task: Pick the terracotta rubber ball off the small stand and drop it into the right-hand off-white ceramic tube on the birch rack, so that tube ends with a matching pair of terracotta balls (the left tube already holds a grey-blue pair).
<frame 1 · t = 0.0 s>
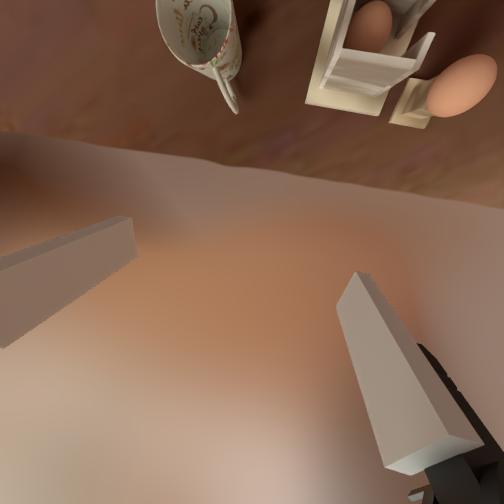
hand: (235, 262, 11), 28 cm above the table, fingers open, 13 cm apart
terracotta ball in tube: (359, 46, 24), point 1 cm above the table, touching rack
terracotta ball: (441, 94, 22), point 5 cm above the table, touching stand
stand: (415, 104, 26), on the table
mug: (229, 73, 29), on the table
rack: (376, 0, 23), on the table
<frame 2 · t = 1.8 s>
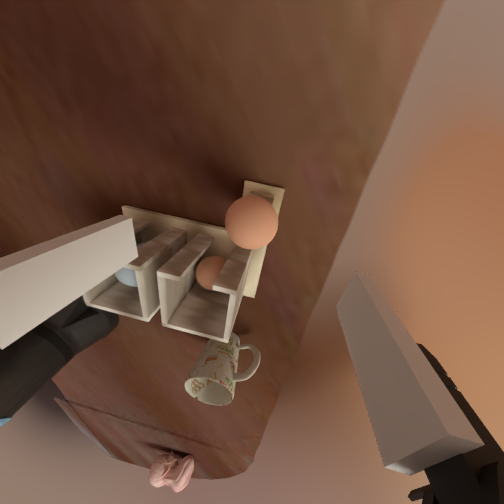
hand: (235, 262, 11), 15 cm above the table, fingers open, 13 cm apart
terracotta ball in tube: (219, 263, 29), point 1 cm above the table, touching rack
terracotta ball: (255, 215, 19), point 5 cm above the table, touching stand
grey ball upper: (144, 260, 25), point 5 cm above the table, tilted 28°, touching grey ball lower, rack
figurine: (178, 452, 83), on the table
stand: (261, 203, 24), on the table
mug: (234, 336, 38), on the table
rack: (194, 253, 29), on the table
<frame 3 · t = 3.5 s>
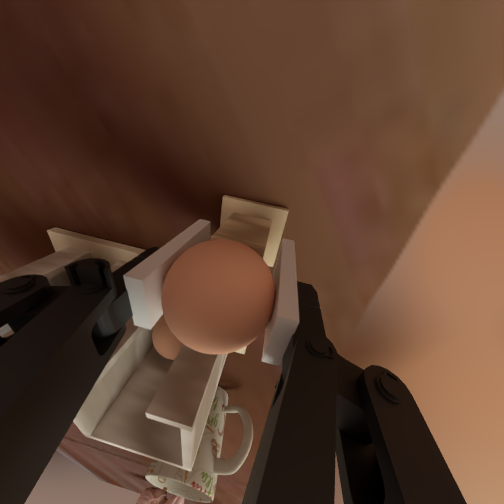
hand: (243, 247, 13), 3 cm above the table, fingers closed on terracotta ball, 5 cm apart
terracotta ball in tube: (192, 311, 20), point 1 cm above the table, touching rack
terracotta ball: (235, 264, 11), point 5 cm above the table, touching gripper, stand
figurine: (167, 484, 75), on the table
stand: (251, 231, 15), on the table
mug: (221, 389, 29), on the table
rack: (159, 293, 21), on the table
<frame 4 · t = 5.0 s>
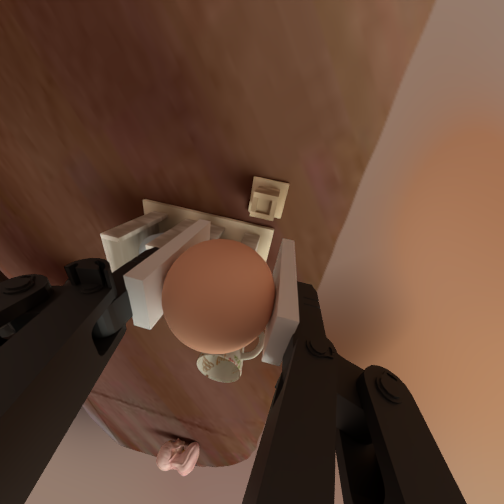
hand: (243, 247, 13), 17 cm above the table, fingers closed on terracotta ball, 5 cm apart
terracotta ball: (235, 264, 11), point 19 cm above the table, touching gripper
grey ball upper: (163, 248, 28), point 5 cm above the table, tilted 28°, touching grey ball lower, rack
figurine: (184, 439, 87), on the table
stand: (268, 197, 27), on the table
mug: (241, 322, 41), on the table
rack: (206, 242, 32), on the table
when the fingers open (12 cm above the table, at t = 6.7 s): terracotta ball drops 8 cm and tips over, resting on rack, terracotta ball in tube.
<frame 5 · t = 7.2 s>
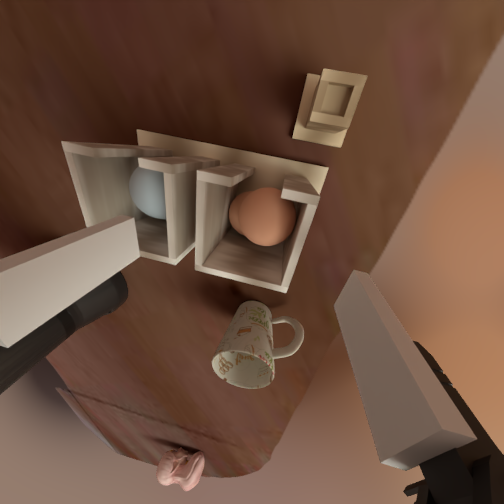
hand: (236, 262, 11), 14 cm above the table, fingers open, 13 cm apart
terracotta ball in tube: (257, 208, 23), point 1 cm above the table, tilted 10°, touching rack, terracotta ball
terracotta ball: (250, 218, 18), point 6 cm above the table, tilted 51°, touching rack, terracotta ball in tube
grey ball upper: (166, 193, 19), point 5 cm above the table, tilted 28°, touching grey ball lower, rack
figurine: (187, 448, 78), on the table
stand: (324, 113, 18), on the table
mug: (265, 310, 32), on the table
rack: (226, 196, 23), on the table
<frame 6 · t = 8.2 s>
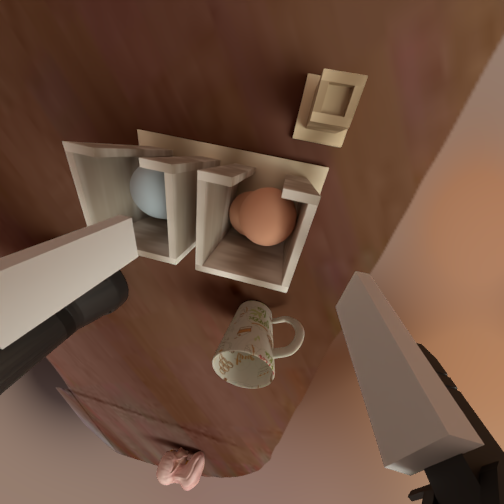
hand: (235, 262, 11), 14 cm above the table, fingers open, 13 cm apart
terracotta ball in tube: (258, 208, 23), point 1 cm above the table, tilted 10°, touching rack, terracotta ball
terracotta ball: (250, 218, 18), point 6 cm above the table, tilted 51°, touching rack, terracotta ball in tube
grey ball upper: (167, 193, 19), point 5 cm above the table, tilted 28°, touching grey ball lower, rack
figurine: (187, 448, 78), on the table
stand: (324, 113, 18), on the table
mug: (265, 310, 32), on the table
rack: (226, 196, 24), on the table
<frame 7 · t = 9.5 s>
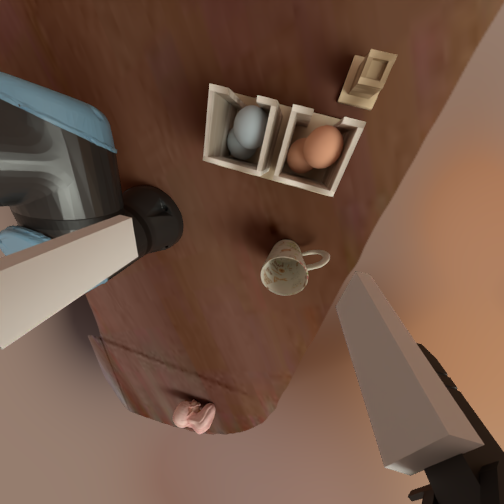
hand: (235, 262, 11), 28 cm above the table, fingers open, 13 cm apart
terracotta ball in tube: (304, 156, 31), point 1 cm above the table, tilted 10°, touching rack, terracotta ball
terracotta ball: (307, 153, 26), point 6 cm above the table, tilted 51°, touching rack, terracotta ball in tube
grey ball upper: (247, 134, 27), point 5 cm above the table, tilted 28°, touching grey ball lower, rack
grey ball lower: (247, 142, 32), point 1 cm above the table, tilted 8°, touching grey ball upper, rack
figurine: (199, 400, 86), on the table
stand: (362, 84, 26), on the table
mug: (295, 248, 40), on the table
rack: (280, 147, 32), on the table
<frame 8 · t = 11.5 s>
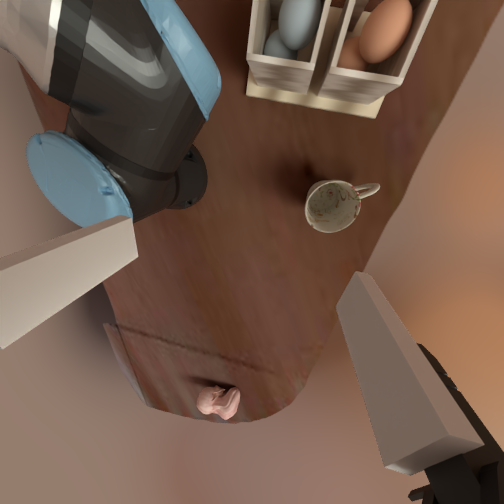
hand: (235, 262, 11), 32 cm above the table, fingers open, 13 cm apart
terracotta ball in tube: (348, 69, 28), point 1 cm above the table, tilted 10°, touching rack, terracotta ball
terracotta ball: (360, 49, 23), point 6 cm above the table, tilted 51°, touching rack, terracotta ball in tube
grey ball upper: (290, 37, 24), point 5 cm above the table, tilted 28°, touching grey ball lower, rack
grey ball lower: (283, 61, 29), point 1 cm above the table, tilted 8°, touching grey ball upper, rack
figurine: (222, 386, 83), on the table
mug: (332, 191, 37), on the table
rack: (319, 63, 29), on the table
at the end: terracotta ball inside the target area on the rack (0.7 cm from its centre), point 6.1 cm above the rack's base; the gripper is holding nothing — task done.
